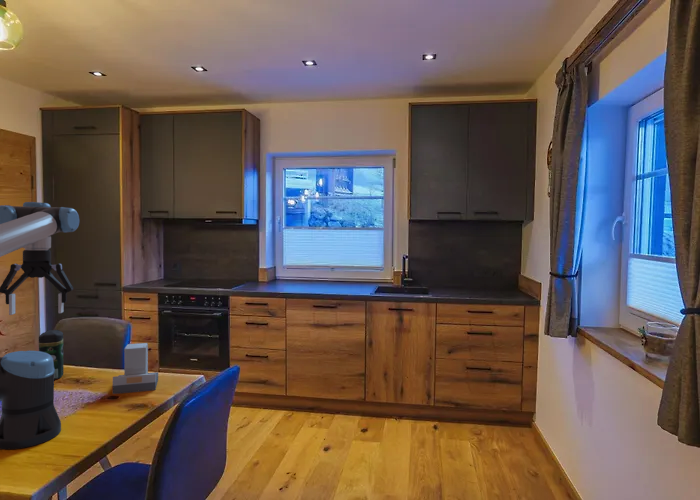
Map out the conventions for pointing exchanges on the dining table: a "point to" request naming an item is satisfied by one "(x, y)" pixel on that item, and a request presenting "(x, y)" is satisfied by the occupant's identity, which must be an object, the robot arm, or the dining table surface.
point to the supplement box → (136, 359)
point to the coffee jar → (53, 349)
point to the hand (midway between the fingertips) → (36, 313)
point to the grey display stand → (135, 383)
